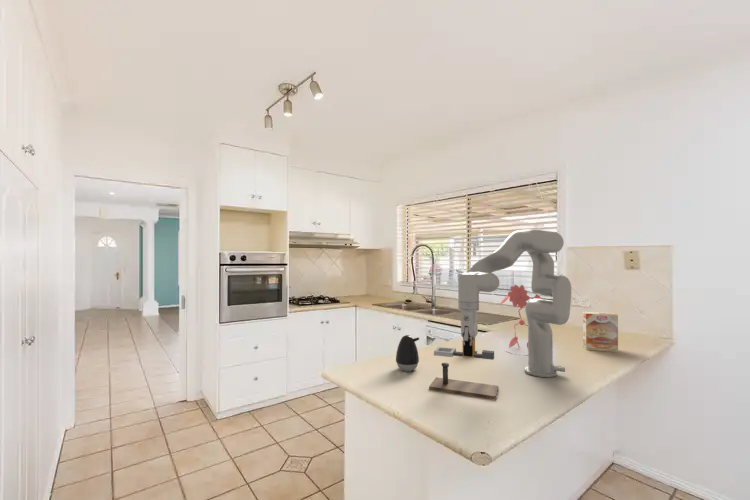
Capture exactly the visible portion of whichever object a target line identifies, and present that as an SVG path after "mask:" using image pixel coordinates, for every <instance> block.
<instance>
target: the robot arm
mask: <svg viewBox="0 0 750 500" xmlns="http://www.w3.org/2000/svg"><path fill="white" fill-rule="evenodd" d="M563 247H564V238H563V236H562V235H561V234H560V233H558V232H556V231H550V230H541V229H521V230H520V229H519V230H515V231H513V232H512V233H510V235H509V236H507V238H506V239H505V240H504V241H503V242H502V243H501V245H500V246H498V248H497V249H496V250H494V252H492V253H490V254H488V255H486V256H485V257H483V258H481V259H480V260H478V261H476V262H475V263H474V264H473V265H472V266H471V267H470V268H469V269H468V271H467V272H464V273H463V272H462V273H460V274H459V275H458V281H457V283H458V284H457V285H458V287H457V288H458V291H457V293H458V295H457V296H458V299H457V300H458V309H457V310H458V311H460V312H461V313H460V314H461V315H460V336H461V337H462V338H463V337H464V345H463V344H462V352H463V351H464V356H469V357H468V358H470V357H472V355H473V354H472V340H474V338H475V339H476V336H478V333H479V330H478V325H479V324H478V312H479V311H480V292H482V293H492V292H495V291H496V290H498V288H499V286H500V278H499V277H498V276H497V274H495V273H494V272H497V271H500V270H501V271H502V270H505V269H508V268H510V267H512V266H513V265H514V264H515V263H516V261H518V259H519V258H520V257H521V255H522V254H523V253H524V252H527V253H528V255H529V257H530V259H531V261H532V271H531V272H532V273H531V283H530V284H531V287H530V288H531V289H530V290H531V292H532V293H533V294H534V295H535V296H536V295H538V296H540V297H548V298H552V299H551V300H550V299H544V298H541V299H534V298H533V299H529V300H528V301H527V304H526V306H525V307H524V308H525V316H526V321H527V325H528V326H527V334H528V335H527V336H528V337H527V343H528V348H527V349H528V350H527V351H528V356H527V358H528V366H525V367H524V372H525V373H526V374H529V375H531V376H534V377H537V378H538V377H539V378H554V377H556V376H557V375H558V372H561V373H565V372H566V368H565V366H562V365H556V364H555V363H554V361H553V359H554V358H553V357H554V355H553V353H554V351H553V349H554V347H553V346H554V345H553V330H552V327H551V324H552V325H558V326H563V325H565V324H566V323H567V322H568V321H569V318H570V313H571V302H572V301H571V300H572V283H571V281H570V279H569V278H568V277H567V276H565V275H562V274H555V261H554V259H553V257H552V255H551V254H555V253H558V252H560V251H561V250H562V249H563ZM469 339H470V340H469Z"/></svg>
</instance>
